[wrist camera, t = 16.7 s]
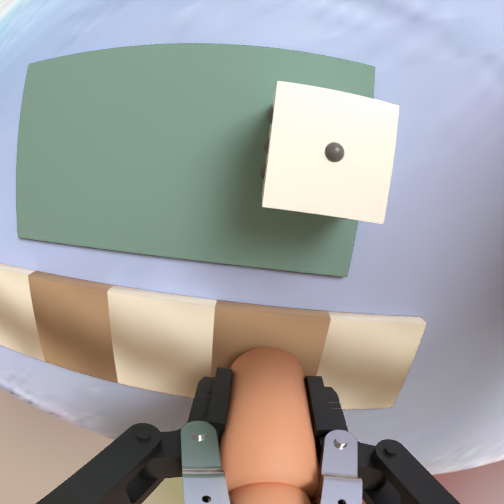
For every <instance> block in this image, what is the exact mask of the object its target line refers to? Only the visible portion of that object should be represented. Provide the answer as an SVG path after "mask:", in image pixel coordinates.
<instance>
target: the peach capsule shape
mask: <svg viewBox="0 0 504 504" xmlns="http://www.w3.org/2000/svg"><path fill="white" fill-rule="evenodd" d="M231 369H233V371H232V379H231V387H230V394H229V402H228V409H227V417H226V425H225V432H224V433H223V434H222V436H221V438H220V443H219V453H220V460H221V466H222V470H224V473H225V477H226V483H227V489H228V494H229V500H230V504H311V502H310V500H311V498H312V496H313V494H314V492H315V491H316V489H317V487H318V485H319V464H318V458H317V451H316V445H315V439H314V433H313V427H312V421H311V415H310V409H309V403H308V397H307V391H306V385H305V380H304V373H303V368H302V366H301V364H300V362H299V361H298V360H297V358H296V357H294V356H293V355H292V354H290V353H289V352H287V351H284V350H282V349H278V348H272V347H263V348H256V349H253V350H250V351H247V352H245V353H244V354H242V355H241V356H239V357H238V358H237V359H236V360H235V361H234V363H233V364H232V366H231Z"/></svg>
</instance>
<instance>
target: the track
mask: <svg viewBox="0 0 504 504" xmlns="http://www.w3.org/2000/svg"><path fill="white" fill-rule="evenodd" d="M426 324H427V323H426V322H425V321H424V320H423V319H422V318H421V317H410V316H390V315H373V314H358V313H344V312H331V311H319V310H307V309H296V308H285V307H275V306H266V305H256V304H247V303H238V302H230V301H221V300H213V299H205V298H198V297H190V296H183V295H175V294H168V293H161V292H154V291H148V290H141V289H135V288H128V287H122V286H116V285H110V284H104V283H98V282H92V281H87V280H81V279H76V278H70V277H65V276H59V275H54V274H49V273H44V272H39V271H34V270H29V269H24V268H19V267H15V266H10V265H6V264H1V263H0V345H3V346H5V347H7V348H10V349H12V350H15V351H18V352H20V353H23V354H25V355H28V356H31V357H33V358H36V359H39V360H42V361H45V362H48V363H51V364H54V365H57V366H60V367H63V368H66V369H69V370H73V371H76V372H79V373H83V374H86V375H90V376H93V377H97V378H101V379H104V380H108V381H112V382H116V383H120V384H124V385H129V386H133V387H137V388H142V389H147V390H151V391H156V392H162V393H167V394H172V395H178V396H184V397H190V398H194V396H195V393H196V389H197V385H198V382H199V381H200V380H201V379H202V378H203V377H204V376H207V377H214V378H215V375H216V370H217V367H220V368H228V369H231V366H232V364H233V363H234V361H235V360H236V359H237V358H238V357H239V356H241V355H242V354H244V353H245V352H247V351H250V350H253V349H256V348H263V347H272V348H278V349H282V350H284V351H287V352H289V353H290V354H292V355H293V356H294V357H296V358H297V360H298V361H299V362H300V364H301V366H302V368H303V373H304V378H305V376H306V375H308V376H322V379H323V383H324V387H332V388H333V389H334V390H335V392H336V393H337V394H338V397H339V401H340V404H341V409H374V408H392V407H393V405H394V403H395V401H396V398H397V396H398V394H399V392H400V390H401V387H402V385H403V383H404V381H405V378H406V376H407V374H408V371H409V369H410V367H411V364H412V362H413V359H414V357H415V354H416V352H417V349H418V346H419V344H420V341H421V338H422V336H423V333H424V330H425V327H426Z"/></svg>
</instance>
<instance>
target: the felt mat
mask: <svg viewBox="0 0 504 504" xmlns="http://www.w3.org/2000/svg"><path fill="white" fill-rule="evenodd" d="M374 79H375V67H374V66H370V65H366V64H362V63H358V62H354V61H349V60H345V59H340V58H335V57H330V56H325V55H319V54H313V53H307V52H301V51H294V50H287V49H279V48H270V47H260V46H249V45H233V44H206V43H182V44H155V45H140V46H129V47H119V48H110V49H103V50H96V51H89V52H83V53H77V54H72V55H66V56H61V57H57V58H52V59H48V60H43V61H39V62H35V63H31V64H29V65H28V70H27V75H26V81H25V87H24V93H23V99H22V106H21V114H20V123H19V133H18V146H17V165H16V211H17V230H18V237H19V238H26V239H33V240H40V241H48V242H55V243H62V244H70V245H77V246H85V247H92V248H100V249H108V250H116V251H123V252H131V253H139V254H147V255H156V256H164V257H172V258H180V259H189V260H197V261H205V262H214V263H223V264H231V265H240V266H249V267H258V268H267V269H276V270H285V271H294V272H304V273H313V274H323V275H332V276H342V277H347V276H348V271H349V266H350V261H351V256H352V251H353V246H354V241H355V235H356V230H357V224H358V220H354V219H341V218H339V217H334V216H327V215H320V214H313V213H305V212H298V211H290V210H283V209H275V208H267V207H262V189H263V181H264V179H263V178H262V177H261V175H260V169H261V167H262V166H263V165H264V164H266V156H267V153H266V152H265V151H264V149H263V143H264V141H265V140H266V139H267V138H269V131H270V123H269V122H268V120H267V112H268V110H269V109H270V108H272V106H273V100H274V95H275V90H276V86H277V81H283V82H291V83H297V84H304V85H310V86H316V87H321V88H327V89H332V90H337V91H342V92H346V93H351V94H355V95H360V96H364V97H368V98H372V99H373V95H374Z"/></svg>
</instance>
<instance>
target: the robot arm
mask: <svg viewBox="0 0 504 504" xmlns="http://www.w3.org/2000/svg"><path fill="white" fill-rule="evenodd" d="M232 371H233V369H228V368H220V367H217V370H216V375H215V378H214V377H207V376H204V377H203V378H202V379H201V380H200V381H199V382H198V385H197V389H196V393H195V396H194V400H193V404H192V408H191V411H190V415H189V419H188V422H187V424H185V425H184V426H183V427H182V428H181V429H179V430H176V431H171V432H160V431H159V430H158V429H157V428H156V427H154V426H153V425H150V424H146V423H139V424H135V425H133V426H131V427H130V428H129V429H127V430H126V431H125V432H124V433H123V434H122V435H120V436H119V437H118V438H117V439H116V440H115V441H113V442H112V443H111V444H110V445H109V446H107V447H106V448H105V449H104V450H103V451H101V452H100V453H99V454H98V455H97V456H95V457H94V458H93V459H92V460H91V461H89V462H88V463H87V464H86V465H84V466H83V467H82V468H81V469H79V470H78V471H77V472H76V473H75V474H73V475H72V476H71V477H70V478H68V479H67V480H66V481H64V482H63V483H62V484H61V485H59V486H58V487H57V488H56V489H54V490H53V491H52V492H50V493H49V494H48V495H47V496H45V497H44V498H43V499H41V500H40V501H39V502H37V503H36V504H141V503H142V502H143V501H144V500H145V499H146V498H147V497H148V496H149V495H150V494H151V493H152V492H153V491H154V490H155V489H156V488H157V486H158V485H159V484H160V483H161V482H162V481H163V480H164V479H165V478H173V477H182V480H183V495H184V504H230V500H229V494H228V489H227V483H226V477H225V473H224V470H222V466H221V460H220V453H219V443H220V438H221V436H222V434H223V433H224V432H225V425H226V417H227V409H228V402H229V394H230V387H231V379H232ZM304 380H305V385H306V391H307V397H308V403H309V409H310V415H311V421H312V427H313V433H314V439H315V445H316V451H317V458H318V464H319V485H318V487H317V489H316V491H315V492H314V494H313V496H312V498H311V500H310V502H311V504H362V499H363V500H364V501H365V502H366V504H460V503H459V502H458V501H457V500H456V499H455V498H454V497H453V496H452V495H451V494H450V493H449V492H448V491H447V490H446V489H445V488H444V487H443V486H442V485H441V484H440V483H439V482H438V481H437V480H436V479H435V478H434V477H433V476H432V475H431V474H430V473H429V472H428V471H427V470H426V469H425V468H424V467H423V466H422V465H421V464H420V463H419V462H418V461H417V460H416V459H415V458H414V457H413V456H412V455H411V453H410V452H409V451H408V450H407V449H406V448H405V447H404V446H403V445H402V444H401V443H399V442H397V441H395V440H390V439H386V440H382V441H380V442H379V443H378V444H377V445H376V446H373V445H368V444H363V443H360V442H358V441H357V439H356V438H355V436H354V435H353V434H351V433H350V432H348V429H347V426H346V422H345V418H344V415H343V411H342V409H341V404H340V401H339V397H338V394H337V393H336V392H335V390H334V389H333V388H332V387H324V383H323V379H322V376H308V375H306V376H305V378H304Z"/></svg>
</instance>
